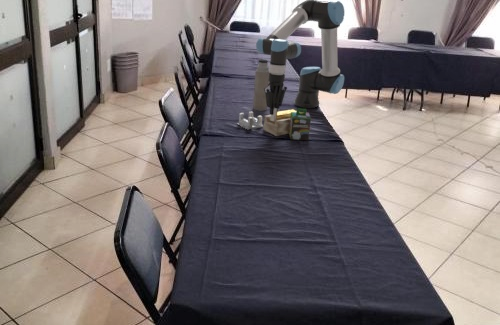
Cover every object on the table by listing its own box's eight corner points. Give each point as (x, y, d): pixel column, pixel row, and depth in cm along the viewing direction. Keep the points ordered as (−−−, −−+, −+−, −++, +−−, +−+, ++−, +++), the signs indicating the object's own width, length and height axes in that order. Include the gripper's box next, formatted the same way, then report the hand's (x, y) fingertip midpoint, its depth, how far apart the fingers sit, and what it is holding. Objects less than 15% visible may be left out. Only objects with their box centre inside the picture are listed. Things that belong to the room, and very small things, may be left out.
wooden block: (291, 117, 233) (292, 109, 231) (297, 120, 229) (298, 111, 228) (270, 121, 225) (271, 112, 223) (276, 124, 221) (277, 115, 220)
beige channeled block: (287, 125, 237) (288, 111, 234) (300, 131, 229) (301, 117, 226) (263, 129, 227) (264, 115, 224) (276, 135, 220) (277, 121, 217)
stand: (252, 122, 238) (253, 111, 235) (263, 127, 231) (263, 116, 229) (237, 124, 232) (237, 113, 230) (247, 130, 226) (248, 118, 223)
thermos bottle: (267, 107, 265) (271, 59, 254) (265, 111, 258) (269, 62, 247) (254, 106, 266) (257, 58, 255) (251, 109, 259) (255, 60, 248)
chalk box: (306, 134, 225) (310, 106, 220) (308, 140, 217) (312, 111, 211) (288, 133, 225) (291, 104, 219) (289, 139, 217) (293, 110, 211)
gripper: (282, 70, 219) (277, 116, 229) (261, 72, 212) (257, 120, 221) (292, 73, 214) (287, 120, 223) (271, 75, 206) (267, 124, 216)
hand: (272, 120), depth 222 cm, fingers closed
